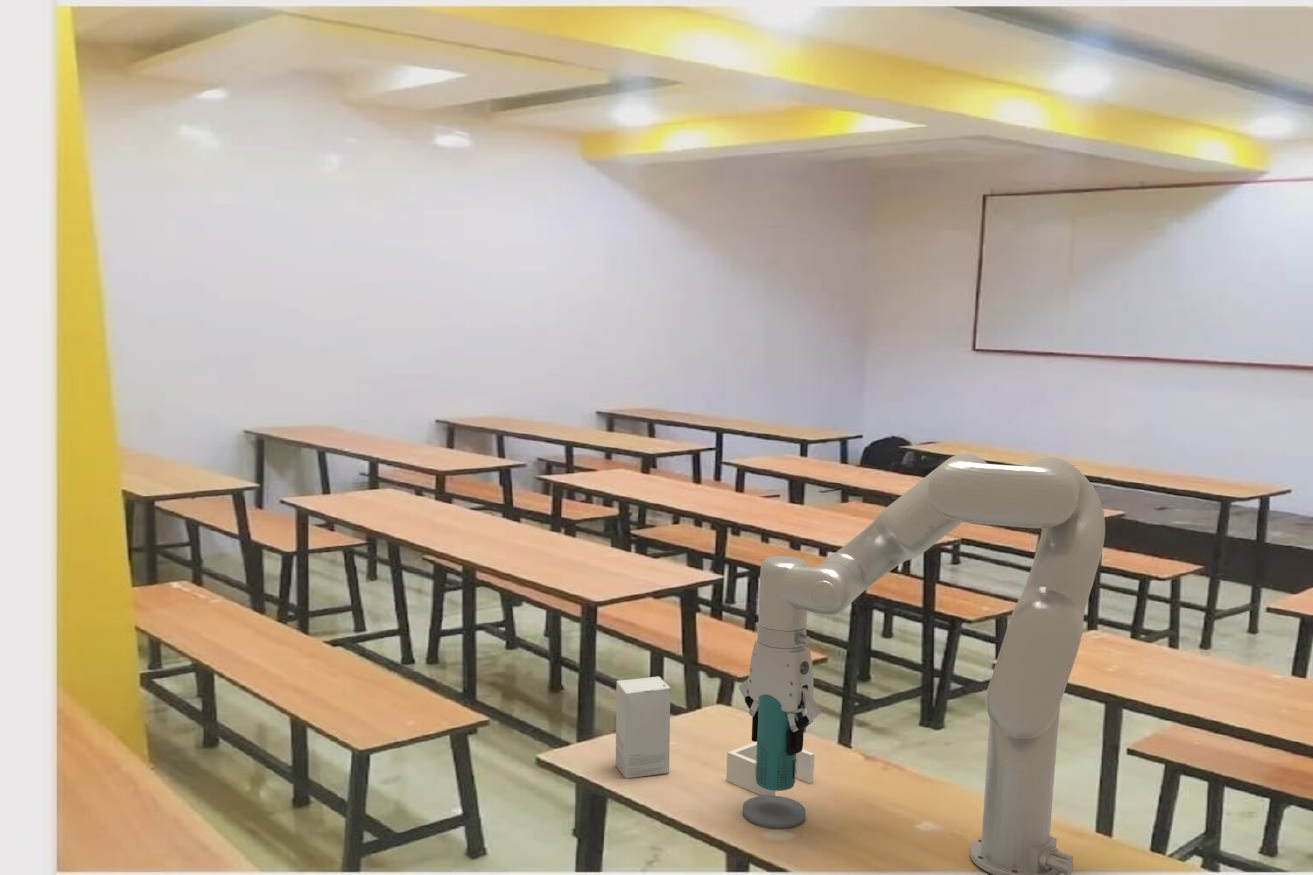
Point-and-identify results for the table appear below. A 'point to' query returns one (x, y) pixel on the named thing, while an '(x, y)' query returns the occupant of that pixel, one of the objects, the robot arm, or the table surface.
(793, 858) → the table surface
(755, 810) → the pad
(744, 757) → the white u-shaped bracket
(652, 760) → the skincare box
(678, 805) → the table surface
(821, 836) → the table surface
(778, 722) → the beverage bottle
